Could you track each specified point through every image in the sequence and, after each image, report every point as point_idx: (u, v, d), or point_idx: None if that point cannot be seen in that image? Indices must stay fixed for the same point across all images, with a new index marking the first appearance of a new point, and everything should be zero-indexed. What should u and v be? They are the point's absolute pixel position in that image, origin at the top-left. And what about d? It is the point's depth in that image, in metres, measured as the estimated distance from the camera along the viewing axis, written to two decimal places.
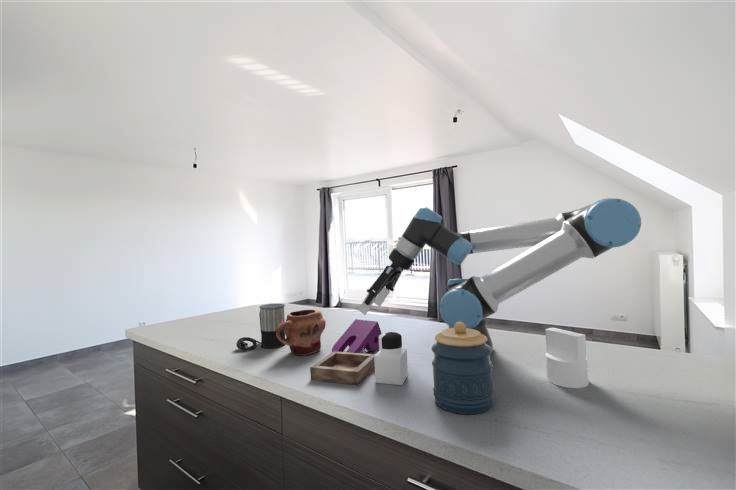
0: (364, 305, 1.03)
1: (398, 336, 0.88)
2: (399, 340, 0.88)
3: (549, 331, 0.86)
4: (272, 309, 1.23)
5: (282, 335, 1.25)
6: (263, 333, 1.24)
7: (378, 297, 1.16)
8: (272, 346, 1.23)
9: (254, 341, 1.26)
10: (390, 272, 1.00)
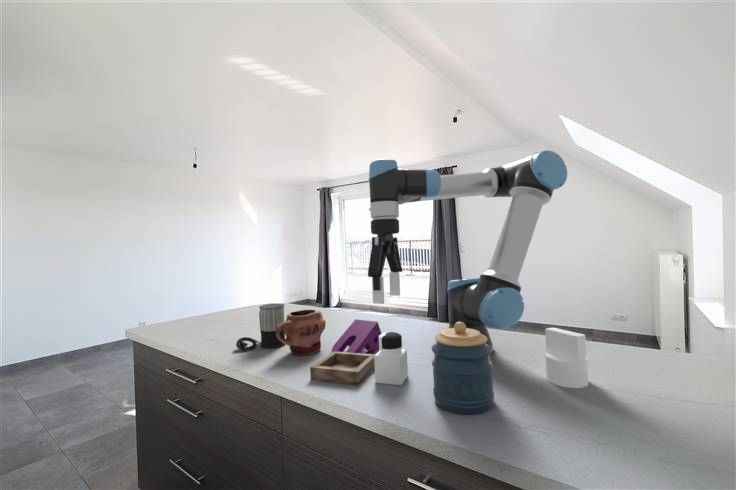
0: (376, 293, 0.84)
1: (398, 336, 0.88)
2: (399, 340, 0.88)
3: (549, 331, 0.86)
4: (272, 309, 1.23)
5: (282, 335, 1.25)
6: (263, 333, 1.24)
7: (392, 286, 0.97)
8: (272, 346, 1.23)
9: (254, 341, 1.26)
10: (379, 241, 0.84)
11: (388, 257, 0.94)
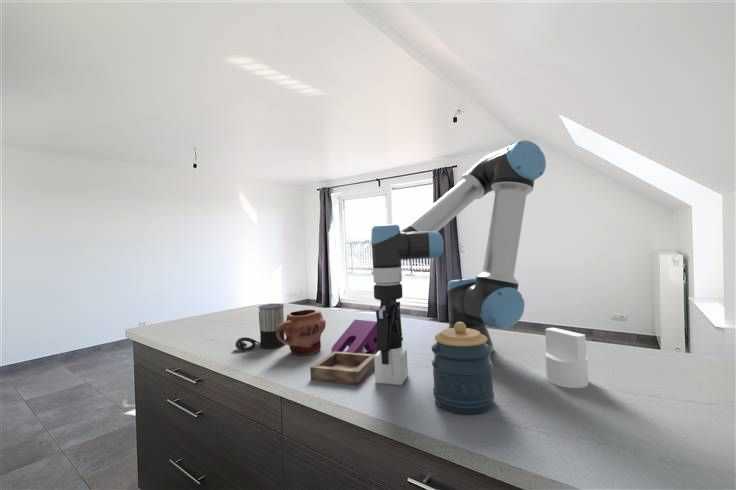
0: (384, 366, 0.86)
1: (398, 336, 0.88)
2: (399, 340, 0.88)
3: (549, 331, 0.86)
4: (271, 309, 1.23)
5: (281, 335, 1.25)
6: (262, 333, 1.24)
7: None
8: (271, 346, 1.22)
9: (253, 341, 1.26)
10: (384, 315, 0.84)
11: None
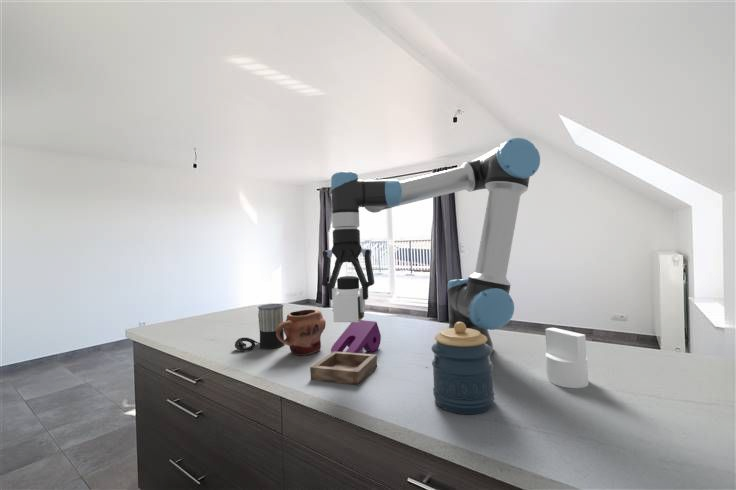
0: None
1: (342, 278, 0.93)
2: (341, 282, 0.92)
3: (549, 331, 0.86)
4: (270, 309, 1.22)
5: None
6: (261, 333, 1.23)
7: None
8: (270, 347, 1.22)
9: (253, 341, 1.26)
10: None
11: None
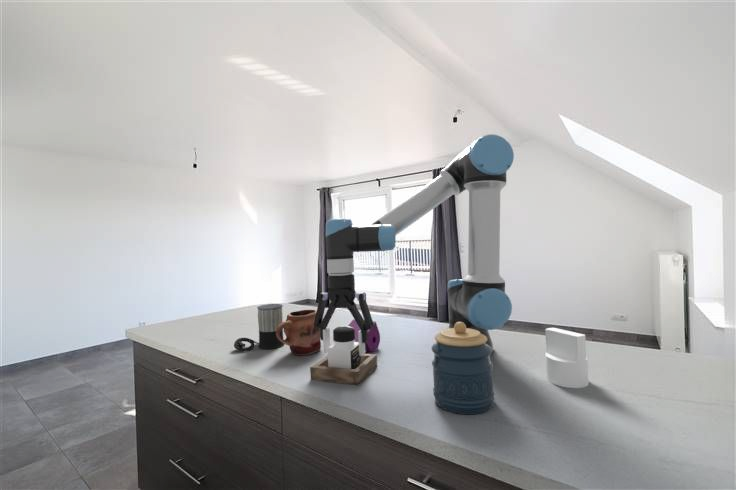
0: None
1: (337, 331, 0.94)
2: (336, 334, 0.94)
3: (549, 331, 0.86)
4: (270, 310, 1.22)
5: None
6: (261, 334, 1.23)
7: None
8: (270, 347, 1.22)
9: (252, 342, 1.26)
10: None
11: None
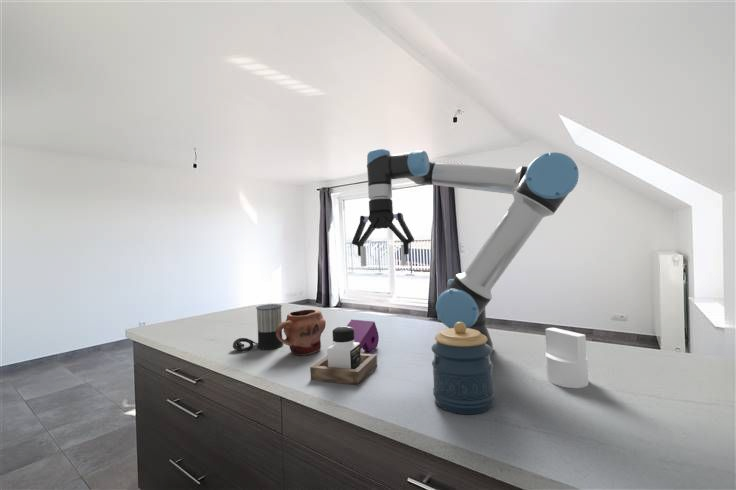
0: None
1: (336, 331, 0.94)
2: (335, 335, 0.94)
3: (549, 331, 0.86)
4: (268, 310, 1.22)
5: None
6: (259, 334, 1.23)
7: None
8: (268, 347, 1.21)
9: (251, 342, 1.25)
10: None
11: None
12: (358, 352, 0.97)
